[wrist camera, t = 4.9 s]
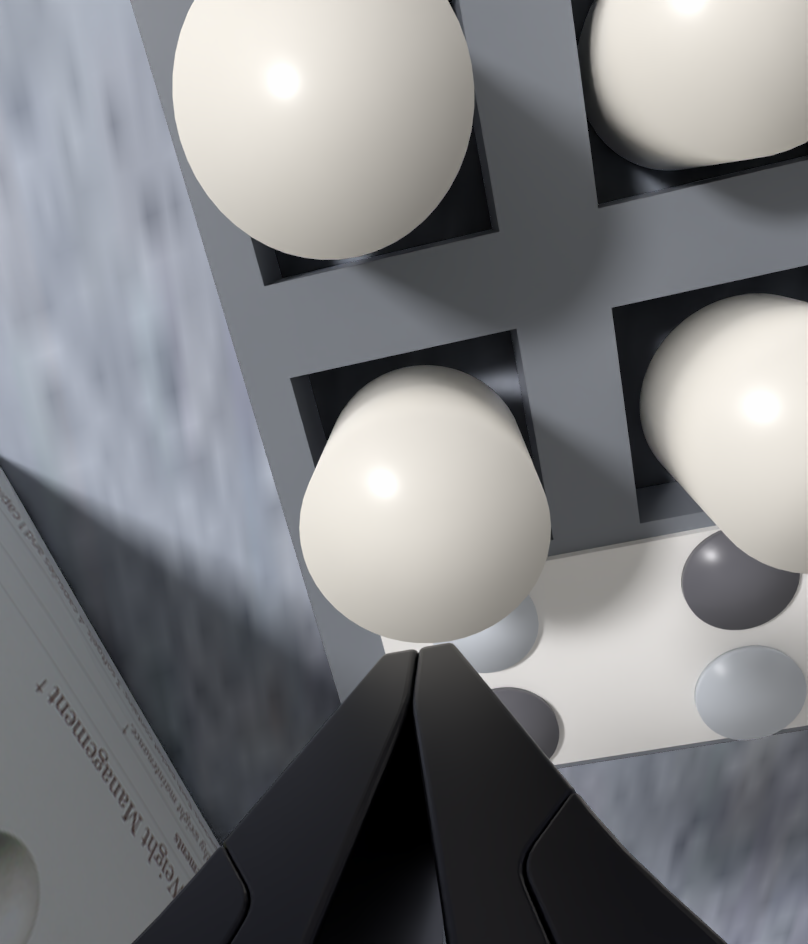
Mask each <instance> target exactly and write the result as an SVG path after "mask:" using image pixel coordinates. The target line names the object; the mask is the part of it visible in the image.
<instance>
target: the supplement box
mask: <svg viewBox="0 0 808 944" xmlns="http://www.w3.org/2000/svg"><path fill="white" fill-rule="evenodd" d="M219 847H221V846H220V845H219V843H218V841H217V840H216V838H215V836H214V835H213V833H212V831H211V830H210V828H209V826H208V824H207V823H206V821H205V819H204V818H203V816H202V814H201V813H200V811H199V809H198V808H197V806H196V804H195V802H194V801H193V799H192V797H191V796H190V794H189V792H188V790H187V789H186V787H185V785H184V783H183V782H182V780H181V778H180V777H179V775H178V773H177V771H176V770H175V768H174V766H173V765H172V763H171V761H170V759H169V758H168V756H167V754H166V753H165V751H164V749H163V747H162V746H161V744H160V742H159V740H158V739H157V737H156V735H155V734H154V732H153V730H152V728H151V727H150V725H149V723H148V722H147V720H146V718H145V716H144V715H143V713H142V711H141V710H140V708H139V706H138V704H137V703H136V701H135V699H134V697H133V696H132V694H131V692H130V691H129V689H128V687H127V685H126V684H125V682H124V680H123V678H122V677H121V675H120V673H119V672H118V670H117V668H116V666H115V665H114V663H113V661H112V659H111V658H110V656H109V654H108V653H107V651H106V649H105V647H104V646H103V644H102V642H101V640H100V639H99V637H98V635H97V634H96V632H95V630H94V628H93V627H92V625H91V623H90V621H89V620H88V618H87V616H86V614H85V613H84V611H83V609H82V608H81V606H80V604H79V602H78V601H77V599H76V597H75V595H74V594H73V592H72V590H71V588H70V587H69V585H68V583H67V581H66V580H65V578H64V576H63V574H62V573H61V571H60V569H59V568H58V566H57V564H56V562H55V561H54V559H53V557H52V555H51V554H50V552H49V550H48V548H47V547H46V545H45V543H44V541H43V540H42V538H41V536H40V534H39V532H38V531H37V529H36V527H35V525H34V524H33V522H32V520H31V518H30V517H29V515H28V513H27V511H26V510H25V508H24V506H23V504H22V503H21V501H20V499H19V497H18V496H17V494H16V492H15V490H14V489H13V487H12V485H11V483H10V482H9V480H8V479H7V477H6V475H5V474H4V472H3V470H2V469H1V467H0V944H131V943H132V942H133V941H134V940H135V939H136V938H137V937H138V936H139V935H140V934H141V933H142V932H143V931H144V930H145V929H146V928H147V927H148V926H149V925H150V924H151V923H152V922H153V921H154V920H155V919H156V918H157V917H158V916H159V914H160V913H161V912H162V911H163V910H164V909H165V908H166V907H167V905H168V904H169V903H170V902H171V901H172V900H173V899H174V898H175V897H176V895H177V894H178V893H179V892H180V891H181V890H182V889H183V888H184V886H185V885H186V884H187V883H188V882H189V881H190V880H191V879H192V878H193V876H194V875H195V874H196V873H197V872H198V871H199V869H200V868H201V867H202V866H203V865H204V864H205V862H206V861H207V860H208V859H209V858H210V857H211V855H212V854H213V853H214V852H215V851H216V850H217V849H218V848H219Z"/></svg>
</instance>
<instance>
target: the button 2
mask: <svg viewBox="0 0 808 944" xmlns="http://www.w3.org/2000/svg"><path fill="white" fill-rule="evenodd" d="M299 531H300V543H301V548H302V552H303V557H304V560H305V562H306V565H307V568H308V570H309V573H310V575H311V576H312V578H313V580H314V582H315V584H316V586H317V587H318V588H319V590H320V591H321V592H322V594H323V595H324V597H325V598H326V599H327V600H328V601H329V602H330V603H331V604H332V605H333V606H334V607H335V608H336V609H337V610H338V611H339V612H340V613H342V614H343V615H344V616H345V617H346V618H348V619H349V620H351V621H352V622H354V623H356V624H357V625H359V626H360V627H362V628H364V629H366V630H369V631H371V632H373V633H375V634H378V635H381V636H384V637H386V638H390V639H394V640H399V641H403V642H412V643H440V642H448V641H453V640H457V639H462V638H465V637H468V636H471V635H474V634H476V633H479V632H481V631H483V630H485V629H487V628H489V627H491V626H493V625H495V624H496V623H498V622H499V621H501V620H502V619H504V618H505V617H506V616H508V615H509V614H510V613H511V612H512V611H513V610H515V609H516V608H517V607H518V606H519V605H520V604H521V602H522V601H523V600H524V599H525V598H526V597H527V596H528V594H529V593H530V591H531V590H532V588H533V587H534V586H535V584H536V582H537V580H538V578H539V576H540V574H541V572H542V570H543V568H544V565H545V562H546V559H547V556H548V551H549V546H550V538H551V520H550V510H549V506H548V502H547V498H546V495H545V492H544V490H543V487H542V485H541V482H540V480H539V477H538V475H537V472H536V470H535V467H534V465H533V462H532V460H531V457H530V455H529V452H528V450H527V447H526V445H525V442H524V440H523V437H522V435H521V432H520V430H519V428H518V425H517V423H516V420H515V418H514V416H513V415H512V413H511V411H510V409H509V408H508V406H507V405H506V404H505V402H504V401H503V400H502V399H501V397H500V396H499V395H497V394H496V393H495V392H494V391H493V390H492V389H491V388H490V387H489V386H487V385H486V384H485V383H483V382H482V381H480V380H479V379H477V378H475V377H473V376H471V375H469V374H467V373H464V372H462V371H459V370H456V369H452V368H448V367H444V366H435V365H416V366H409V367H403V368H400V369H396V370H393V371H390V372H388V373H386V374H383V375H381V376H379V377H377V378H376V379H374V380H372V381H371V382H369V383H368V384H366V385H365V386H364V387H363V388H361V389H360V390H359V391H358V392H357V393H356V394H355V395H354V396H353V397H352V398H351V399H350V400H349V402H348V403H347V404H346V406H345V407H344V409H343V410H342V412H341V414H340V415H339V417H338V419H337V421H336V423H335V426H334V428H333V430H332V432H331V435H330V437H329V439H328V441H327V444H326V446H325V448H324V450H323V453H322V455H321V457H320V459H319V462H318V464H317V466H316V468H315V471H314V473H313V475H312V477H311V480H310V482H309V484H308V487H307V490H306V492H305V495H304V498H303V502H302V507H301V512H300V525H299Z"/></svg>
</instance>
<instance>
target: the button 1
mask: <svg viewBox="0 0 808 944" xmlns="http://www.w3.org/2000/svg"><path fill="white" fill-rule="evenodd" d="M173 106H174V114H175V121H176V125H177V129H178V134H179V138H180V141H181V144H182V147H183V150H184V152H185V155H186V158H187V160H188V162H189V164H190V166H191V169H192V171H193V173H194V175H195V177H196V179H197V180H198V182H199V183H200V185H201V186H202V188H203V189H204V191H205V192H206V194H207V196H208V197H209V198H210V199H211V200H212V202H213V203H214V204H215V205H216V206H217V208H218V209H219V210H220V211H221V212H222V213H223V214H224V215H225V216H226V217H227V218H228V219H229V220H230V221H231V222H232V223H233V224H235V225H236V226H237V227H238V228H240V229H241V230H242V231H244V232H245V233H247V234H248V235H249V236H251V237H252V238H254V239H256V240H258V241H259V242H261V243H263V244H265V245H267V246H269V247H271V248H274V249H276V250H279V251H281V252H284V253H287V254H291V255H295V256H299V257H303V258H310V259H319V260H337V259H346V258H352V257H359V256H362V255H365V254H369V253H372V252H375V251H378V250H380V249H382V248H384V247H386V246H389V245H391V244H393V243H395V242H396V241H398V240H399V239H401V238H402V237H404V236H406V235H407V234H409V233H410V232H411V231H412V230H414V229H415V228H416V227H417V226H418V225H420V224H421V223H422V222H423V221H424V220H425V219H426V218H427V217H428V216H429V215H430V214H431V213H432V212H433V210H434V209H435V208H436V207H437V206H438V205H439V203H440V202H441V200H442V199H443V198H444V196H445V195H446V193H447V192H448V190H449V189H450V187H451V185H452V183H453V181H454V179H455V178H456V176H457V174H458V172H459V170H460V167H461V164H462V162H463V159H464V156H465V154H466V151H467V147H468V143H469V139H470V135H471V131H472V123H473V115H474V80H473V71H472V63H471V59H470V55H469V51H468V46H467V42H466V40H465V37H464V34H463V32H462V29H461V26H460V23H459V21H458V19H457V17H456V15H455V13H454V11H453V9H452V7H451V5H450V3H449V2H448V0H194V2H193V3H192V5H191V7H190V9H189V11H188V13H187V16H186V19H185V21H184V24H183V26H182V29H181V32H180V36H179V40H178V44H177V48H176V52H175V59H174V67H173Z"/></svg>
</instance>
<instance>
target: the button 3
mask: <svg viewBox="0 0 808 944" xmlns="http://www.w3.org/2000/svg"><path fill="white" fill-rule="evenodd" d="M578 59H579V66H580V74H581V81H582V89H583V96H584V104H585V111H586V115H587V117H588V119H589V121H590V124H591V125H592V127H593V128H594V130H595V131H596V133H597V134H598V136H599V137H600V138H601V139H602V140H603V141H604V142H605V144H606V145H607V146H608V147H610V148H611V149H612V150H613V151H614V152H616V153H617V154H618V155H620V156H621V157H623V158H625V159H626V160H628V161H630V162H632V163H635V164H637V165H639V166H643V167H647V168H650V169H656V170H665V171H668V170H683V169H690V168H696V167H703V166H709V165H716V164H722V163H729V162H735V161H741V160H748V159H754V158H760V157H766V156H771V155H775V154H778V153H781V152H785V151H788V150H790V149H792V148H795V147H797V146H799V145H801V144H804V143H806V142H807V141H808V0H594V2H593V4H592V5H591V7H590V9H589V12H588V14H587V17H586V19H585V22H584V25H583V28H582V32H581V35H580V39H579V45H578Z"/></svg>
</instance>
